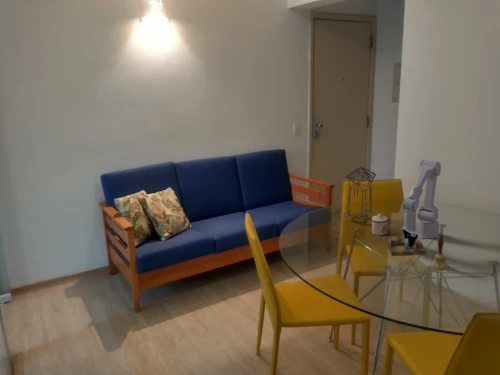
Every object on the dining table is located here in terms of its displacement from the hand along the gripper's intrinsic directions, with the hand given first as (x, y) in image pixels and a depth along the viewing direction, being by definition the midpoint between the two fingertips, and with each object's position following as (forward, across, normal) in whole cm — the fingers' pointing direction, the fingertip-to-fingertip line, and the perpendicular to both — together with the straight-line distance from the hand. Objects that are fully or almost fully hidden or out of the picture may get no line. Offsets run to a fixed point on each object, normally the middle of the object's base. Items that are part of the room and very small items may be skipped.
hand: (409, 243), depth 231 cm
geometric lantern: (+3, -43, -18) cm, 47 cm away
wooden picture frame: (+3, -3, -2) cm, 5 cm away
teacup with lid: (+3, -23, -10) cm, 25 cm away
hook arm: (+3, 0, -7) cm, 8 cm away
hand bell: (+3, +20, +9) cm, 22 cm away
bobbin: (+3, 0, 0) cm, 3 cm away
